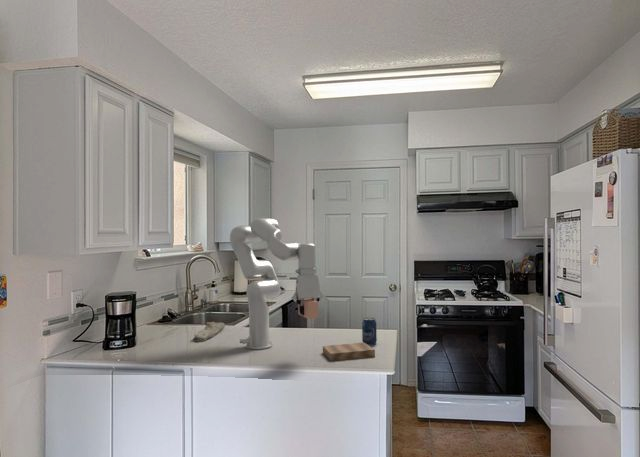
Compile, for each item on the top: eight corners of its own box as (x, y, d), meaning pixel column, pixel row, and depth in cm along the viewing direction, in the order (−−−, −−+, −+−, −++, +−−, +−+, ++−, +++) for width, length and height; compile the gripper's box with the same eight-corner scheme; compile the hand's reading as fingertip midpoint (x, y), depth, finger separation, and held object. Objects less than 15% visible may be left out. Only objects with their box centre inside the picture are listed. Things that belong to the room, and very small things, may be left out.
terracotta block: (308, 318, 182) (307, 302, 182) (298, 314, 193) (298, 298, 193) (318, 317, 183) (317, 301, 183) (307, 313, 194) (307, 297, 195)
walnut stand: (331, 360, 184) (330, 353, 184) (322, 352, 196) (322, 346, 196) (375, 356, 189) (374, 349, 189) (364, 348, 202) (364, 342, 202)
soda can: (362, 345, 208) (361, 320, 209) (362, 341, 215) (362, 317, 215) (376, 345, 207) (376, 320, 207) (376, 341, 214) (376, 317, 214)
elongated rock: (188, 345, 220) (207, 346, 219) (188, 334, 220) (208, 335, 219) (211, 326, 255) (228, 327, 254) (212, 317, 255) (228, 318, 254)
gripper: (291, 273, 182) (292, 317, 181) (328, 271, 188) (329, 313, 188) (285, 272, 188) (286, 314, 188) (321, 270, 195) (322, 311, 195)
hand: (307, 313), depth 188 cm, fingers closed on terracotta block, 4 cm apart
